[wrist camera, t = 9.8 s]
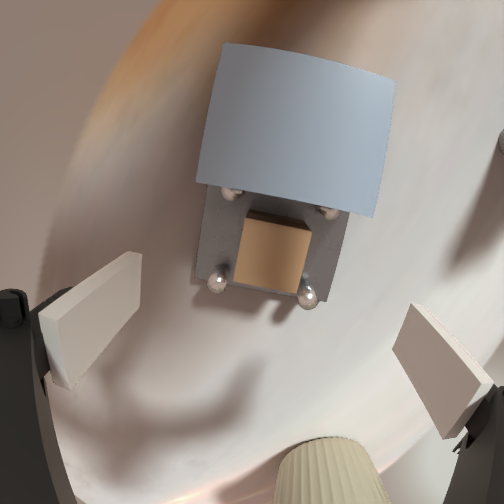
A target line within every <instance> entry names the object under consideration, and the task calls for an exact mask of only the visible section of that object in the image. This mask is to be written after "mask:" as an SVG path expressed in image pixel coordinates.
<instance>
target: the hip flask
mask: <svg viewBox="0 0 504 504" xmlns="http://www.w3.org/2000/svg"><path fill="white" fill-rule="evenodd" d="M499 146H500V149H501V151H502V153H503V154H504V130H503V131H502V132H501V133H500V135H499Z"/></svg>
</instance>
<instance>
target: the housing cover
mask: <svg viewBox="0 0 504 504" xmlns="http://www.w3.org/2000/svg"><path fill="white" fill-rule="evenodd" d="M395 85H396V81H394V80H392V79H389V78H386V77H383V76H381V75H378V74H375V73H372V72H369V71H366V70H362V69H359V68H356V67H353V66H349V65H346V64H342V63H339V62H335V61H331V60H327V59H323V58H319V57H315V56H310V55H306V54H301V53H296V52H291V51H285V50H280V49H274V48H268V47H261V46H253V45H245V44H236V43H226V42H224V43H223V47H222V51H221V55H220V59H219V63H218V67H217V72H216V76H215V81H214V85H213V90H212V94H211V99H210V104H209V109H208V114H207V119H206V124H205V129H204V134H203V140H202V145H201V151H200V156H199V162H198V168H197V174H196V180H195V182H196V183H203V184H209V185H215V186H221V187H227V188H233V189H239V190H244V191H250V192H255V193H261V194H266V195H271V196H276V197H282V198H287V199H292V200H296V201H301V202H306V203H311V204H315V205H320V206H325V207H329V208H334V209H338V210H342V211H347V212H351V213H355V214H360V215H364V216H368V217H372V218H373V216H374V211H375V207H376V203H377V198H378V193H379V189H380V184H381V179H382V174H383V168H384V163H385V157H386V151H387V145H388V139H389V133H390V126H391V119H392V111H393V103H394V94H395Z"/></svg>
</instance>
